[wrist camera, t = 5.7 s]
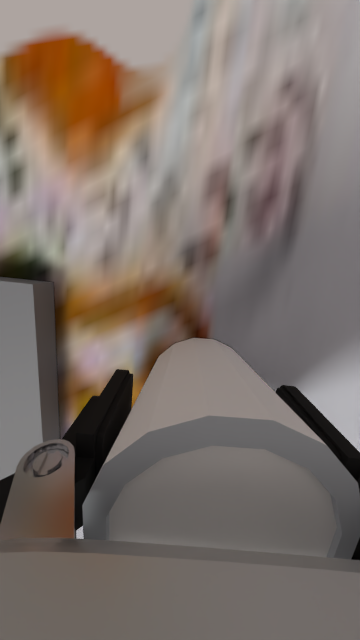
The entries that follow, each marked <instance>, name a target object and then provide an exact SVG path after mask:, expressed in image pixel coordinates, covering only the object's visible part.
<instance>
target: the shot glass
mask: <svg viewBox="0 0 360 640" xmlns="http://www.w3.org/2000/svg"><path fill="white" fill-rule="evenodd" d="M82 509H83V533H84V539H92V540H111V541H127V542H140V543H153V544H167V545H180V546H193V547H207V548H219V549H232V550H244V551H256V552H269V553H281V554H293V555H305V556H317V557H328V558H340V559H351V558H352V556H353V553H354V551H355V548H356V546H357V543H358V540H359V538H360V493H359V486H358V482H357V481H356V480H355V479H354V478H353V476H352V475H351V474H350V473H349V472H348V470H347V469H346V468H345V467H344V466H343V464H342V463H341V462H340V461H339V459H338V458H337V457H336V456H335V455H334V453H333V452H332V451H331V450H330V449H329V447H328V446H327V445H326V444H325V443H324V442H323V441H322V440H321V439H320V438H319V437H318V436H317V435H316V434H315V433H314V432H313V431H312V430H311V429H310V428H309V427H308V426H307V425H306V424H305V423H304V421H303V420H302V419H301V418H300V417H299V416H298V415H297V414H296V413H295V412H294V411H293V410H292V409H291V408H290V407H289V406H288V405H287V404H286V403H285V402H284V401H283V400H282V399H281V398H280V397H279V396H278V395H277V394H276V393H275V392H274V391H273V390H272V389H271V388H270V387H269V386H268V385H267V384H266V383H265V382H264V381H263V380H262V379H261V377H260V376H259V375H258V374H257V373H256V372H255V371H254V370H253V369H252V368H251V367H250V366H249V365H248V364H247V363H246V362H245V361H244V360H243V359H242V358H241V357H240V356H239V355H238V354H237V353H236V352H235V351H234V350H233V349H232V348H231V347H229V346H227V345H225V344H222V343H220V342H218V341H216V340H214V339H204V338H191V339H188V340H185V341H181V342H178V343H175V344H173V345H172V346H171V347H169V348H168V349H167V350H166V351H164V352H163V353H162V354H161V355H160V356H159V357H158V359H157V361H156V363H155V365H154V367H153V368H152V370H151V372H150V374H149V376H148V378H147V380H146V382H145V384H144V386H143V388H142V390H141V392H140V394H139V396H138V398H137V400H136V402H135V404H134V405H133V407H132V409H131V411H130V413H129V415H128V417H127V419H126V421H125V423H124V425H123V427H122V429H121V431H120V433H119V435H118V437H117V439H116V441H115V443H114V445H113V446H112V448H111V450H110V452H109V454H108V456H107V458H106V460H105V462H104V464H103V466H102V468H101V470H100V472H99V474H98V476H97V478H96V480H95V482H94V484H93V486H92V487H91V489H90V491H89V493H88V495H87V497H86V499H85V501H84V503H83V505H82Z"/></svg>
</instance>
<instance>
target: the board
mask: <svg viewBox="0 0 360 640" xmlns="http://www.w3.org/2000/svg"><path fill="white" fill-rule="evenodd" d="M55 439H60V431H59V407H58V382H57V357H56V333H55V308H54V283H53V282H46V281H36V280H26V279H16V278H7V277H0V480H2V479H4V478H6V477H8V476H10V475H12V474H14V473H15V471H16V468H17V465H18V463H19V461H20V459H21V458H22V457H23V456H24V455H25V454H26V453H27V452H28V451H29V450H30V449H32V448H33V447H35V446H37V445H39V444H40V443H43V442H46V441H49V440H55Z"/></svg>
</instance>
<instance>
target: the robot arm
mask: <svg viewBox="0 0 360 640" xmlns="http://www.w3.org/2000/svg"><path fill="white" fill-rule="evenodd" d="M132 387H133V374H129V370H119V369H117V370H116V371H115V373H114V374H113V376H112V378H111V379H110V381H109V382H108V384H107V385H106V387H105V388H104V390H103V391H102V393H101V394H100V396H92V397H91V399H90V400H89V401H88V403H87V404H86V406H85V407H84V408H83V410H82V411H81V413H80V414H79V416H78V417H77V418H76V420H75V421H74V423H73V424H72V425H71V427H70V428H69V430H68V431H67V433H66V434H65V435H64V437H63V438H62V439H55V440H49V441H46V442H43V443H40V444H39V445H37V446H35V447H33V448H32V449H30V450H29V451H28V452H27V453H26V454H25V455H24V456H23V457H22V458H21V459H20V461H19V463H18V465H17V468H16V471H15V473H14V474H12V475H10V476H8V477H6V478H4V479H2V480H0V640H360V538H359V540H358V543H357V546H356V548H355V551H354V553H353V556H352V558H351V559H340V558H328V557H317V556H305V555H293V554H281V553H269V552H256V551H244V550H232V549H219V548H207V547H193V546H180V545H167V544H153V543H140V542H127V541H111V540H92V539H76V530H77V529H79V528H80V527H81V526H83V509H82V505H83V503H84V501H85V499H86V497H87V495H88V493H89V491H90V489H91V487H92V486H93V484H94V482H95V480H96V478H97V476H98V474H99V472H100V470H101V468H102V466H103V464H104V462H105V460H106V458H107V456H108V454H109V452H110V450H111V448H112V446H113V445H114V443H115V441H116V439H117V437H118V435H119V433H120V431H121V429H122V427H123V425H124V423H125V421H126V419H127V417H128V415H129V413H130V411H131V405H132ZM276 394H277V395H278V396H279V397H280V398H281V399H282V400H283V401H284V402H285V403H286V404H287V405H288V406H289V407H290V408H291V409H292V410H293V411H294V412H295V413H296V414H297V415H298V416H299V417H300V418H301V419H302V420H303V421H304V423H305V424H306V425H307V426H308V427H309V428H310V429H311V430H312V431H313V432H314V433H315V434H316V435H317V436H318V437H319V438H320V439H321V440H322V441H323V442H324V443H325V444H326V445H327V446H328V447H329V449H330V450H331V451H332V452H333V453H334V455H335V456H336V457H337V458H338V459H339V461H340V462H341V463H342V464H343V466H344V467H345V468H346V469H347V470H348V472H349V473H350V474H351V475H352V476H353V478H354V479H355V480H356V481H357V482H358V486H359V493H360V452H359V451H358V450H357V449H356V448H355V447H354V446H353V445H352V444H351V443H350V442H349V441H348V440H347V439H346V438H345V437H344V436H343V435H342V434H341V433H340V432H339V431H338V430H337V429H336V428H335V427H334V426H333V425H332V424H331V423H330V422H329V421H328V420H327V419H326V418H325V417H324V416H323V414H322V413H321V412H320V411H319V410H318V409H317V408H316V407H315V406H314V405H313V404H312V403H311V402H310V401H309V400H308V399H307V398H306V397H305V396H304V395H303V394H302V393H301V392H300V391H299V390H298V389H297V388H296V387H294V386H284V385H282V386H281V387H280V388H278V389H277V390H276Z"/></svg>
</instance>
